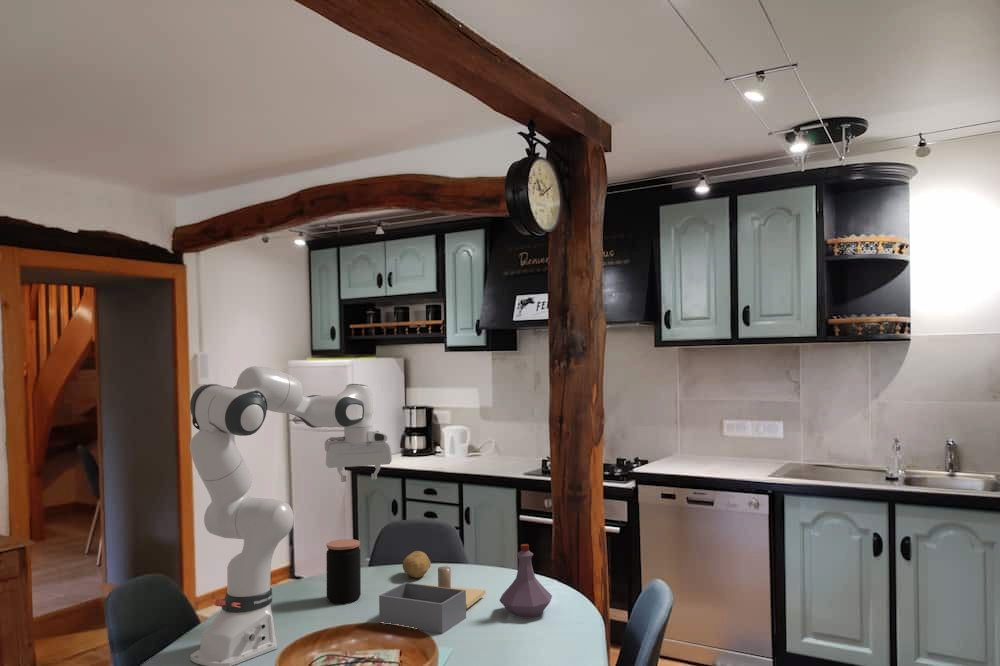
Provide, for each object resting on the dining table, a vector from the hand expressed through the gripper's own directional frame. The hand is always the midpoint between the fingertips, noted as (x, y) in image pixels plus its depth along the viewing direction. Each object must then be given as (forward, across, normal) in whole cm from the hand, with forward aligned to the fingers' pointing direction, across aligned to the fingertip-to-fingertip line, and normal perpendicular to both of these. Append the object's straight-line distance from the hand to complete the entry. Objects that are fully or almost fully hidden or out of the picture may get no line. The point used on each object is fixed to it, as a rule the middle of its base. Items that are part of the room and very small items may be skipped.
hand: (359, 480), depth 225 cm
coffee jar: (+39, -4, +11) cm, 41 cm away
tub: (+39, +16, -18) cm, 46 cm away
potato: (+39, +24, +27) cm, 53 cm away
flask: (+39, +46, -23) cm, 65 cm away
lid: (+40, +26, -3) cm, 47 cm away
